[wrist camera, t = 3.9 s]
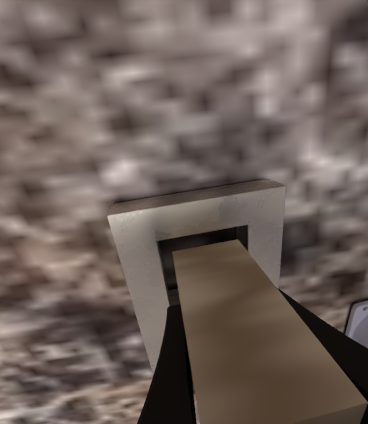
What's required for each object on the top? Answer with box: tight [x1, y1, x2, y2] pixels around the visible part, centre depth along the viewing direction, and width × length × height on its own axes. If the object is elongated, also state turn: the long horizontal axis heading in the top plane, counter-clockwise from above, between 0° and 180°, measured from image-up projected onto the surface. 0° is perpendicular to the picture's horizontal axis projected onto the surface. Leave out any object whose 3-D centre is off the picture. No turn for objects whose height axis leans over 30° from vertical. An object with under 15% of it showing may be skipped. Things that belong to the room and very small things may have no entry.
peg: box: [172, 239, 368, 424], centre depth 9 cm, size 4×4×8 cm
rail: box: [107, 179, 286, 405], centre depth 16 cm, size 10×19×2 cm, turn 7°
